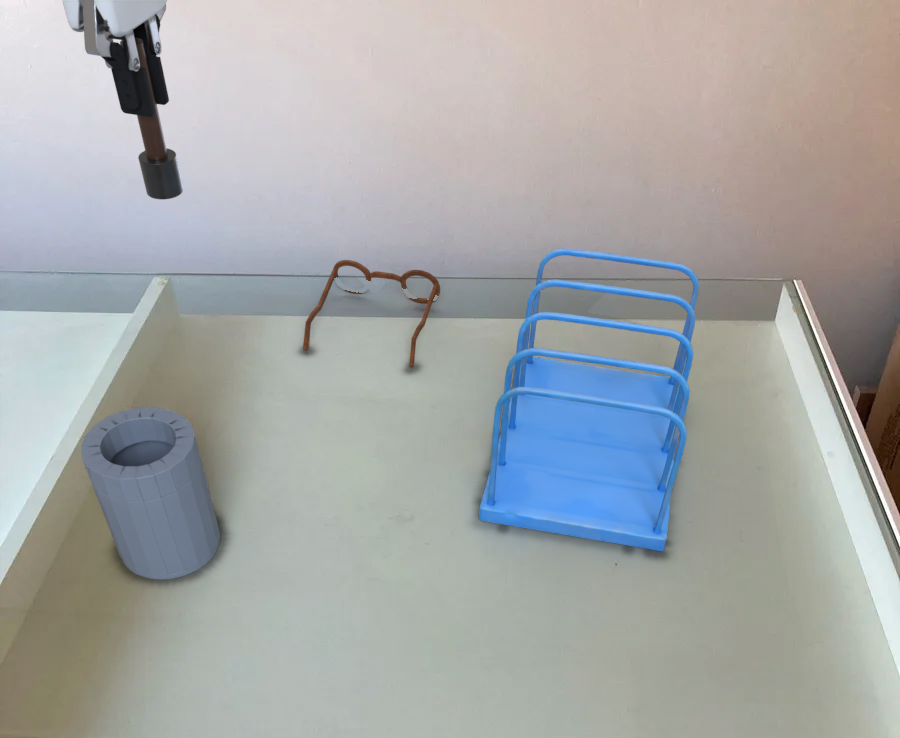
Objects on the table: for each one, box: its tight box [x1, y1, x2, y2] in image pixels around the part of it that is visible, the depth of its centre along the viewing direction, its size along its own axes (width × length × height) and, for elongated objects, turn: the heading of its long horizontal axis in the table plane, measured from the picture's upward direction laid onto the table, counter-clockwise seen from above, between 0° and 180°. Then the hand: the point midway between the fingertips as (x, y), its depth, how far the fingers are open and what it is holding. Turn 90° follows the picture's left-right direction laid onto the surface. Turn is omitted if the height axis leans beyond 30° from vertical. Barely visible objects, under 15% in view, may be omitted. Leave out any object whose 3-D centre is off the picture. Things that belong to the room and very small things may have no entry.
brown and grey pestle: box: [119, 38, 184, 200], centre depth 86 cm, size 4×4×14 cm
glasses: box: [302, 259, 441, 369], centre depth 104 cm, size 13×13×5 cm
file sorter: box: [478, 247, 700, 552], centre depth 86 cm, size 25×17×15 cm
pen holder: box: [80, 406, 221, 580], centre depth 79 cm, size 9×9×12 cm
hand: (145, 106), depth 85 cm, fingers closed on brown and grey pestle, 2 cm apart
